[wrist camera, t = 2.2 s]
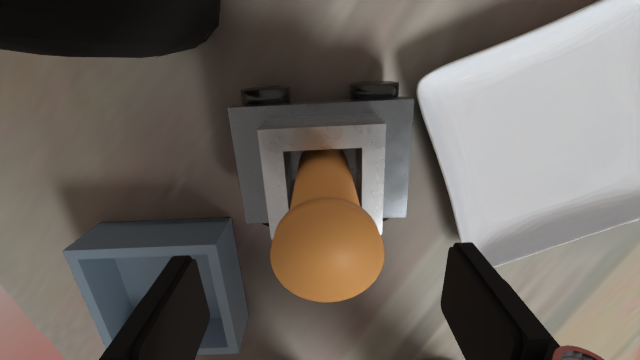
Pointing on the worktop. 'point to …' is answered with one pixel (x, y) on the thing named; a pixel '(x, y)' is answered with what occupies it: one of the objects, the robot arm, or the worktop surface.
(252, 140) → the trolley
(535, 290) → the worktop surface
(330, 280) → the pin
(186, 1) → the portable speaker
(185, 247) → the tray
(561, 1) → the worktop surface
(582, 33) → the salad plate
